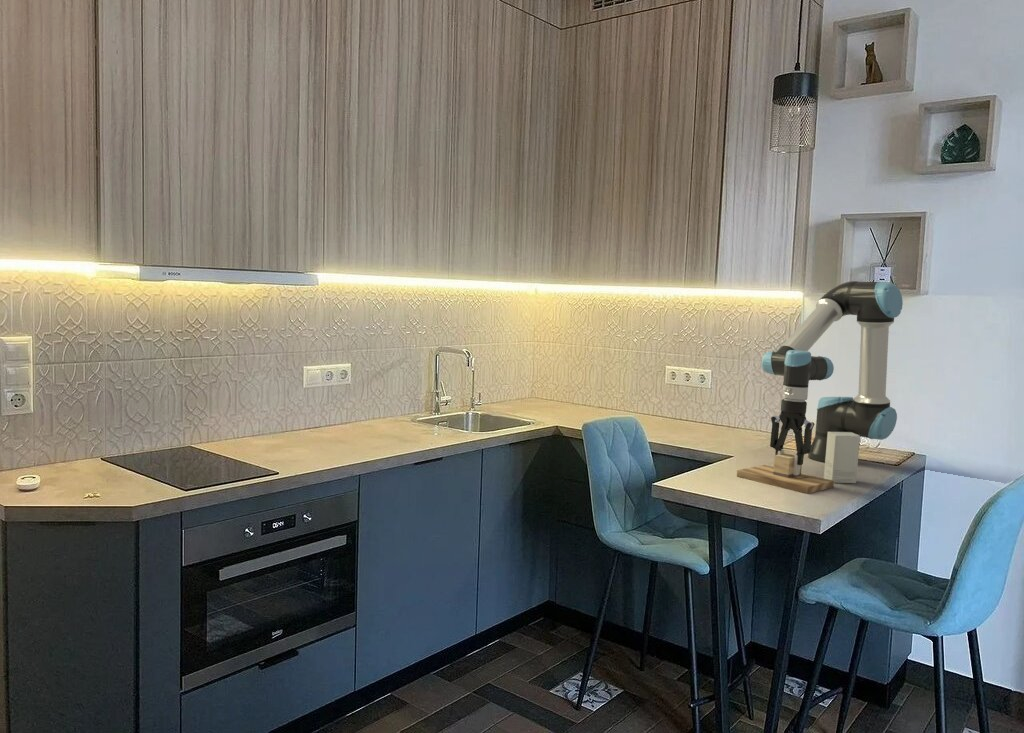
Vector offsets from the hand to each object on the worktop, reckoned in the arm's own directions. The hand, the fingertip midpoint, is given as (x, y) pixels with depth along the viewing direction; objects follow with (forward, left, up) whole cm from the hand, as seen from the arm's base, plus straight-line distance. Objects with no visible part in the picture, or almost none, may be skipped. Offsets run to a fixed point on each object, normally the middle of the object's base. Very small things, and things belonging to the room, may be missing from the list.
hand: (787, 472), depth 248 cm
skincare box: (-16, +9, -3) cm, 19 cm away
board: (+2, 0, -3) cm, 3 cm away
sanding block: (0, 0, 0) cm, 1 cm away
